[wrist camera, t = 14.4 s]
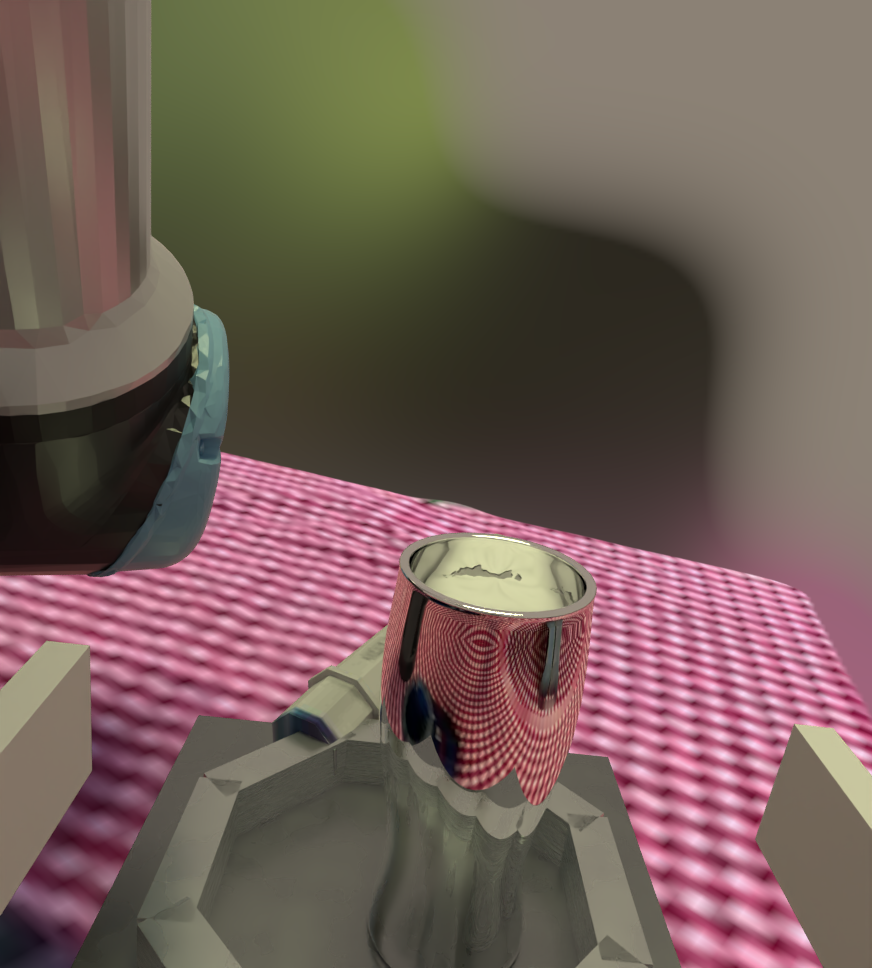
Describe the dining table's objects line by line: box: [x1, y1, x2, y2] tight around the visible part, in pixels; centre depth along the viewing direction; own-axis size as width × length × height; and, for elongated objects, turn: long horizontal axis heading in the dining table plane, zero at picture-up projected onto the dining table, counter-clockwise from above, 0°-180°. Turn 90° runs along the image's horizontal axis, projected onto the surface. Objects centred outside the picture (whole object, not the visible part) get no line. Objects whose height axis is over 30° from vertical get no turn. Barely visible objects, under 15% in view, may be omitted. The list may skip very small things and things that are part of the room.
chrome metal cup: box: [367, 533, 597, 968], centre depth 27 cm, size 7×7×15 cm
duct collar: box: [71, 715, 681, 968], centre depth 29 cm, size 22×22×3 cm
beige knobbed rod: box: [272, 534, 503, 776], centre depth 46 cm, size 5×7×25 cm
